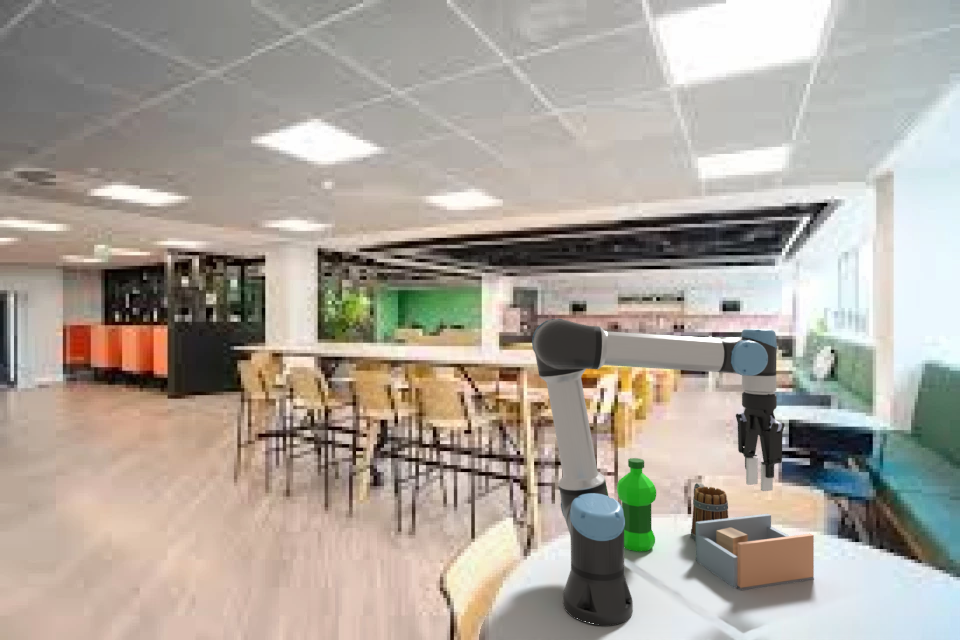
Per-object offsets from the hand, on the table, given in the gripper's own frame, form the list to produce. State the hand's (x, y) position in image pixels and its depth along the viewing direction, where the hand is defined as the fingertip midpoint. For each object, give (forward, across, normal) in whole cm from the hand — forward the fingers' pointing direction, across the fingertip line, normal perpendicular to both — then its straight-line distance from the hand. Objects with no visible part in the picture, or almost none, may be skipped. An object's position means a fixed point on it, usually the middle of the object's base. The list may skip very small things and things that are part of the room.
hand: (759, 486), depth 130 cm
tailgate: (+21, -5, 0) cm, 22 cm away
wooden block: (+21, +4, +5) cm, 22 cm away
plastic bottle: (+23, +22, +21) cm, 38 cm away
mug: (+23, +22, -2) cm, 32 cm away
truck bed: (+23, +2, 0) cm, 23 cm away
